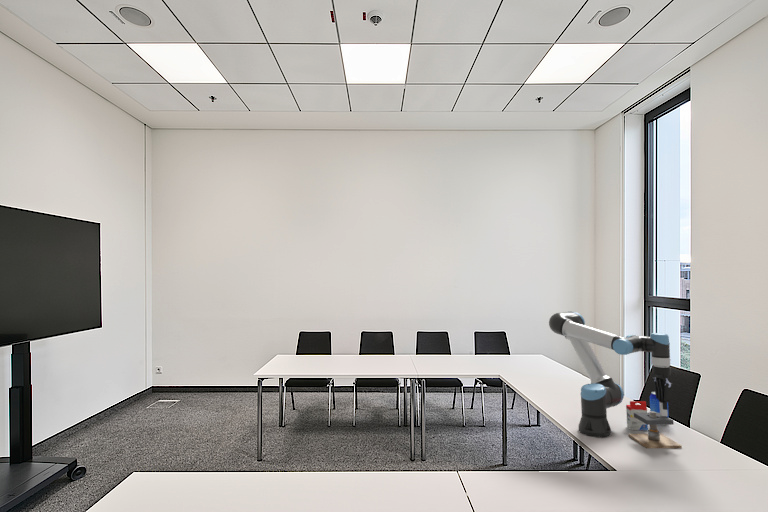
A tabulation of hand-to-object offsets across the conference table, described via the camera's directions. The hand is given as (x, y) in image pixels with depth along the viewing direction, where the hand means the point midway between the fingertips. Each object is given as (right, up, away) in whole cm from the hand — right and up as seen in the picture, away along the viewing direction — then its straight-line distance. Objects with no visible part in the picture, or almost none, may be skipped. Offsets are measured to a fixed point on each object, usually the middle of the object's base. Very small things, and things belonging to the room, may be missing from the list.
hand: (663, 415), depth 217 cm
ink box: (-2, -14, +19) cm, 23 cm away
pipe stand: (-5, -12, 0) cm, 13 cm away
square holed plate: (-5, -2, 0) cm, 6 cm away
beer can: (+14, -14, +26) cm, 33 cm away
